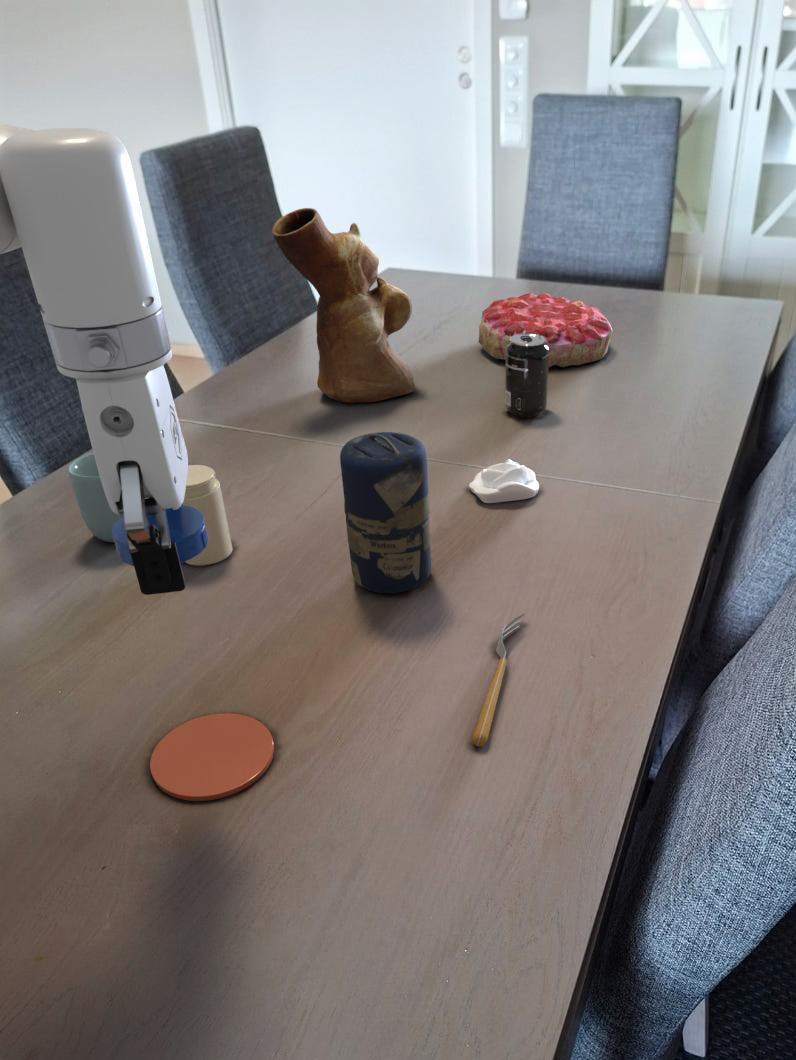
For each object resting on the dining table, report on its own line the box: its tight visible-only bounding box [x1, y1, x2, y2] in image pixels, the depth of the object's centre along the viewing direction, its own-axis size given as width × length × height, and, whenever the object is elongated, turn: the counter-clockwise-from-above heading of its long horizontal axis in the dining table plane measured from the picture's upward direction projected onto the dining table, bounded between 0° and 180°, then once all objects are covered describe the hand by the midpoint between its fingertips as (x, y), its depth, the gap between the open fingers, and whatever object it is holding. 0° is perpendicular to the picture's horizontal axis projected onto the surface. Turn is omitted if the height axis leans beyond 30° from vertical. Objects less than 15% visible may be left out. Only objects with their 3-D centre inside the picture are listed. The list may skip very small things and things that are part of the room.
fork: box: [472, 613, 525, 747], centre depth 91 cm, size 2×2×20 cm
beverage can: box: [504, 333, 549, 418], centre depth 145 cm, size 7×7×12 cm
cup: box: [67, 452, 146, 543], centre depth 113 cm, size 8×8×10 cm
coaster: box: [149, 712, 275, 802], centre depth 82 cm, size 11×11×1 cm
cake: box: [478, 292, 614, 368], centre depth 171 cm, size 25×25×8 cm
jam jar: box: [183, 464, 233, 566], centre depth 109 cm, size 6×6×11 cm
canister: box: [339, 431, 432, 594], centre depth 102 cm, size 10×10×18 cm
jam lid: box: [112, 505, 208, 567], centre depth 69 cm, size 7×7×2 cm
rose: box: [468, 458, 540, 504], centre depth 124 cm, size 10×4×10 cm
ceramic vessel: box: [271, 207, 416, 403], centre depth 146 cm, size 16×22×30 cm
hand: (167, 563), depth 71 cm, fingers closed on jam lid, 6 cm apart
